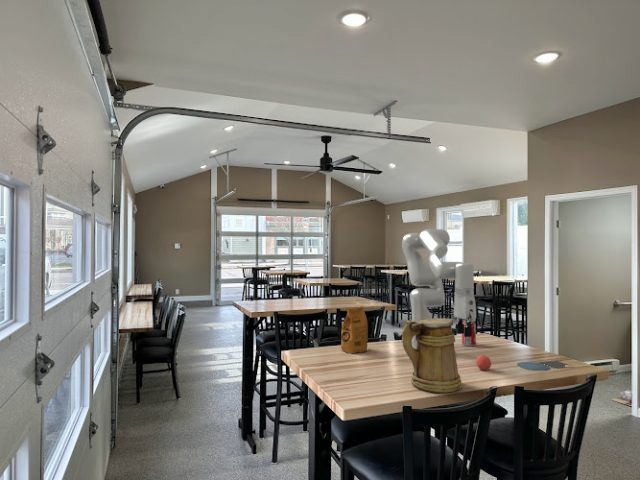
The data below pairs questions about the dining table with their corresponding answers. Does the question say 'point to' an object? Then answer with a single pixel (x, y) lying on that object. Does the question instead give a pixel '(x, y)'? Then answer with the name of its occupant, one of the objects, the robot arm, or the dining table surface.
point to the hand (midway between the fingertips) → (464, 334)
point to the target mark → (533, 366)
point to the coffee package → (354, 331)
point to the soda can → (469, 340)
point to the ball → (483, 362)
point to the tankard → (432, 355)
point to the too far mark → (554, 364)
